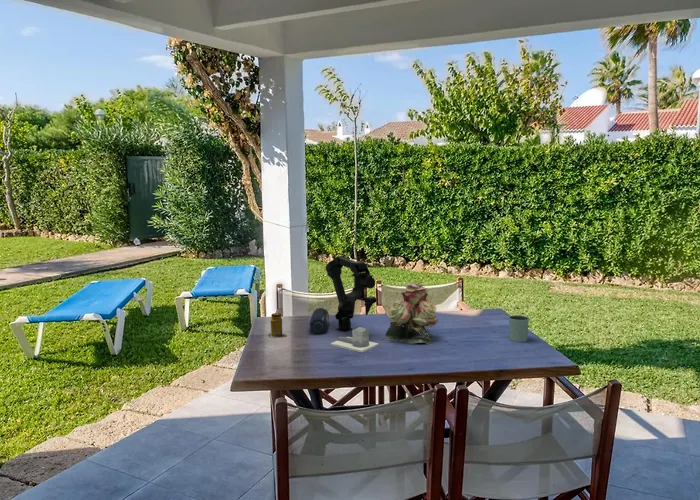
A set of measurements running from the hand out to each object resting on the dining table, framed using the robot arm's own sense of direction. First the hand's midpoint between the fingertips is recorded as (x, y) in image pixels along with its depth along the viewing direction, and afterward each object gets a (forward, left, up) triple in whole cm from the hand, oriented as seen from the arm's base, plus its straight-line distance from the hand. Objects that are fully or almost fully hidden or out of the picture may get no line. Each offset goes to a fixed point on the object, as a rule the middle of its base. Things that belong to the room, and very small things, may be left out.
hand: (359, 313), depth 289 cm
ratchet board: (+8, -15, -12) cm, 21 cm away
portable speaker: (-26, -3, -12) cm, 29 cm away
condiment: (-36, -26, -12) cm, 46 cm away
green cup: (+71, +43, -12) cm, 84 cm away
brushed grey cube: (+12, -15, -9) cm, 21 cm away
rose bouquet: (+25, +14, -12) cm, 31 cm away
